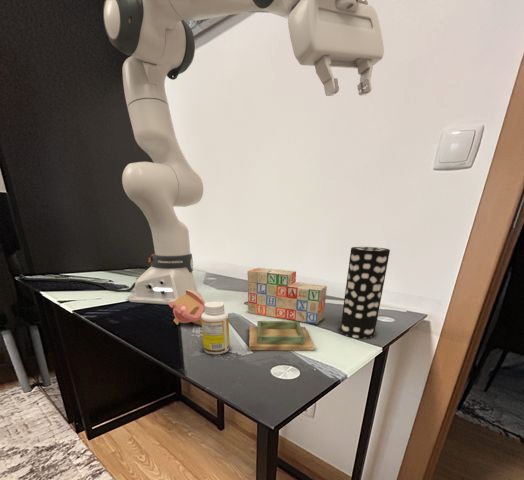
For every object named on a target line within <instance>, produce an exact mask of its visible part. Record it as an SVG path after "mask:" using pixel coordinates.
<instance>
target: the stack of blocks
mask: <svg viewBox="0 0 524 480" xmlns="http://www.w3.org/2000/svg"><path fill="white" fill-rule="evenodd" d="M296 281H297V271H295V270H288V269H287V270H286V269H276V268H265V267H256V268H253V269H249V270H247V312H248V313H249V314H255V315H261V316H266V317H271V318H279V319H285V320H289V321H299V322H302V323H306V324H307V323H308V324H314V325H317V324H319V323H320V322H321V321H322V320H324V317H325V306H326V295H327V285H324V284H323V285H322V284H316V283H308V282H307V283H306V282H298V281H297V282H296Z"/></svg>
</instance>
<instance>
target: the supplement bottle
mask: <svg viewBox="0 0 524 480" xmlns="http://www.w3.org/2000/svg"><path fill="white" fill-rule="evenodd" d="M204 310H205V312H204V313H202V315H201V323H202V325H201V333H202V334H201V336H202V345H203V351H204V352H205V353H206V354H209V355H213V356H214V355H217V356H218V355H222V354H225V353H227V352H228V351H229V350H230V324H229V323H230V322H229V320H230V319H229V313H228V312H227V311H225V303H223V302H222V301H207V302H205V304H204Z"/></svg>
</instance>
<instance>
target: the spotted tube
mask: <svg viewBox="0 0 524 480" xmlns="http://www.w3.org/2000/svg"><path fill="white" fill-rule="evenodd" d="M390 253H391V249H389V248H386V247H385V248H384V247H374V246H352V247H351V248H350V253H349V262H348V269H347V270H348V271H347V277H346V285H345V291H344V297H343V298H344V299H343V300H344V301H343V306H342V314H341V321H340V329H339V331H340V333H341V334H343V335H344V336H347V337H350V338H353V339H370V338H373V337H374V336H375V334H376V329H377V323H378V317H379V312H380V306H381V302H382V296H383V291H384V287H385V280H386V275H387V269H388V263H389V257H390Z"/></svg>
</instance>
